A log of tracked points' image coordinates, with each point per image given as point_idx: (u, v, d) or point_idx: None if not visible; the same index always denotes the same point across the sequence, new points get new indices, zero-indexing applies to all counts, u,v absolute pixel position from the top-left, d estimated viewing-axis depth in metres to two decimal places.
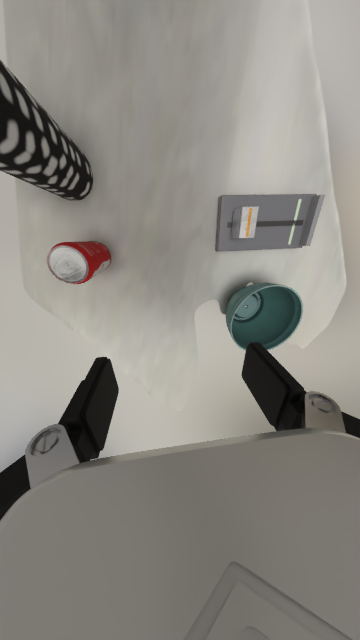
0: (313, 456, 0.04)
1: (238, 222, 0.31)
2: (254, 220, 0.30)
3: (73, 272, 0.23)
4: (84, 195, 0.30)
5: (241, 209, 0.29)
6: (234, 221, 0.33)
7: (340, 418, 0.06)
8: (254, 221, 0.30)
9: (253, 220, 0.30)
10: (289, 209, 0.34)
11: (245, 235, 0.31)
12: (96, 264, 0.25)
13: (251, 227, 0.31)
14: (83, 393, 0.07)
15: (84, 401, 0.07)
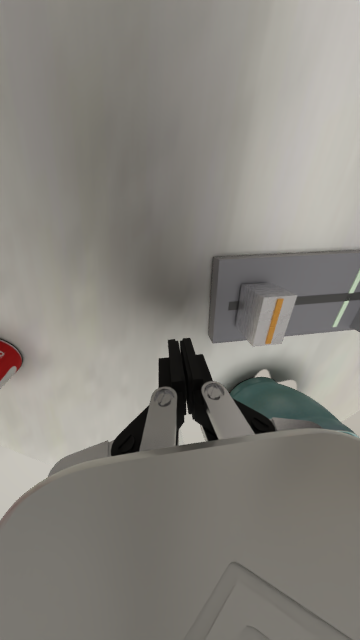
0: (313, 456, 0.04)
1: (251, 316, 0.16)
2: (286, 318, 0.15)
3: None
4: None
5: (259, 299, 0.14)
6: (242, 305, 0.17)
7: (229, 396, 0.07)
8: (285, 319, 0.15)
9: (283, 318, 0.15)
10: (344, 277, 0.18)
11: (265, 341, 0.16)
12: None
13: (277, 328, 0.15)
14: (175, 365, 0.09)
15: (180, 370, 0.09)
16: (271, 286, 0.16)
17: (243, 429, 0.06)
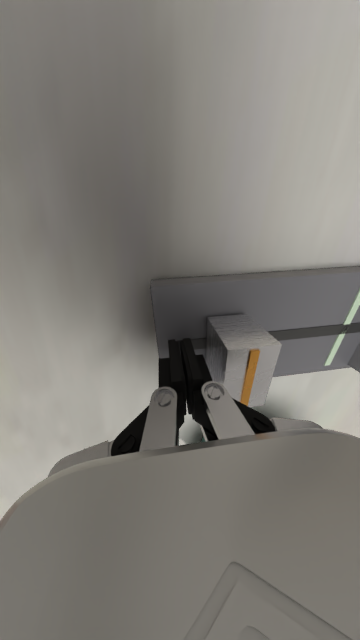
0: (313, 456, 0.04)
1: (217, 368, 0.11)
2: (267, 375, 0.10)
3: None
4: None
5: (224, 349, 0.09)
6: (209, 346, 0.12)
7: (229, 396, 0.07)
8: (266, 376, 0.10)
9: (262, 375, 0.10)
10: (336, 304, 0.13)
11: None
12: None
13: (255, 388, 0.10)
14: (175, 365, 0.09)
15: (180, 370, 0.09)
16: (247, 322, 0.11)
17: (243, 429, 0.06)
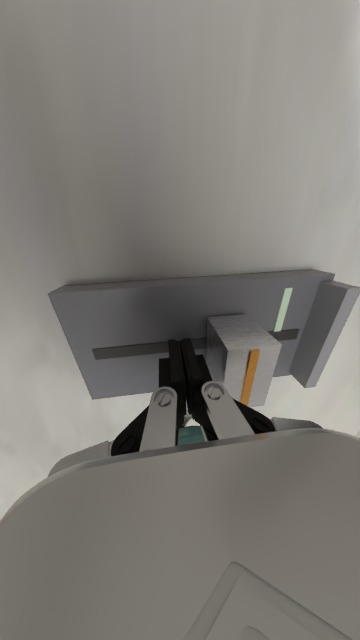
0: (313, 456, 0.04)
1: (217, 368, 0.11)
2: (267, 375, 0.10)
3: None
4: None
5: (224, 349, 0.09)
6: (209, 346, 0.12)
7: (229, 396, 0.07)
8: (266, 376, 0.10)
9: (262, 375, 0.10)
10: (260, 311, 0.13)
11: None
12: None
13: (255, 388, 0.10)
14: (175, 365, 0.09)
15: (180, 370, 0.09)
16: (247, 322, 0.11)
17: (243, 429, 0.06)
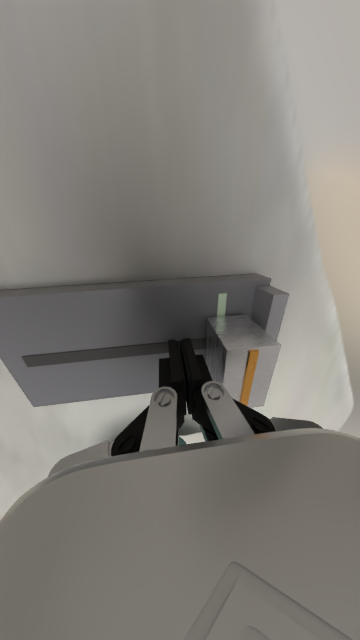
0: (313, 456, 0.04)
1: (216, 368, 0.11)
2: (266, 375, 0.10)
3: None
4: None
5: (223, 350, 0.09)
6: (209, 347, 0.12)
7: (229, 396, 0.07)
8: (265, 377, 0.10)
9: (262, 376, 0.10)
10: (197, 316, 0.12)
11: None
12: None
13: (255, 388, 0.10)
14: (175, 365, 0.09)
15: (180, 370, 0.09)
16: (246, 322, 0.11)
17: (243, 429, 0.06)
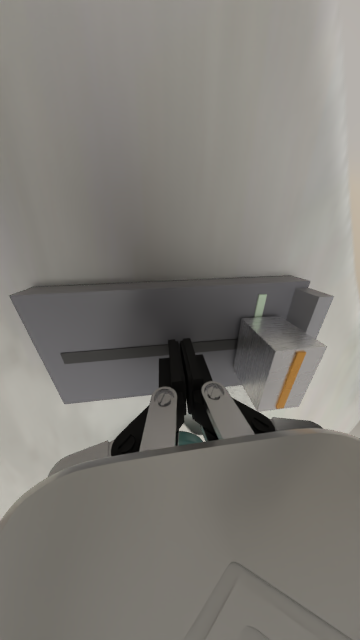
0: (313, 456, 0.04)
1: (255, 368, 0.11)
2: (308, 376, 0.10)
3: None
4: None
5: (269, 350, 0.09)
6: (243, 347, 0.12)
7: (229, 396, 0.07)
8: (306, 378, 0.10)
9: (303, 376, 0.10)
10: (235, 317, 0.12)
11: (276, 404, 0.11)
12: None
13: (294, 389, 0.10)
14: (175, 365, 0.09)
15: (180, 370, 0.09)
16: (283, 324, 0.11)
17: (243, 429, 0.06)
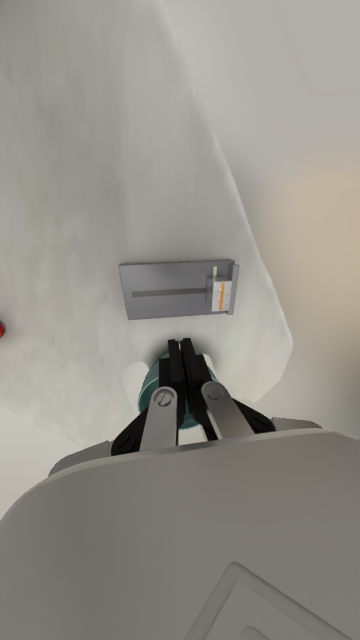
0: (313, 456, 0.04)
1: (210, 294, 0.28)
2: (228, 294, 0.27)
3: None
4: None
5: (212, 283, 0.26)
6: (207, 289, 0.29)
7: (229, 396, 0.07)
8: (228, 295, 0.27)
9: (226, 294, 0.27)
10: (204, 276, 0.29)
11: (219, 308, 0.27)
12: None
13: (224, 300, 0.27)
14: (175, 365, 0.09)
15: (180, 370, 0.09)
16: (222, 277, 0.28)
17: (243, 429, 0.06)
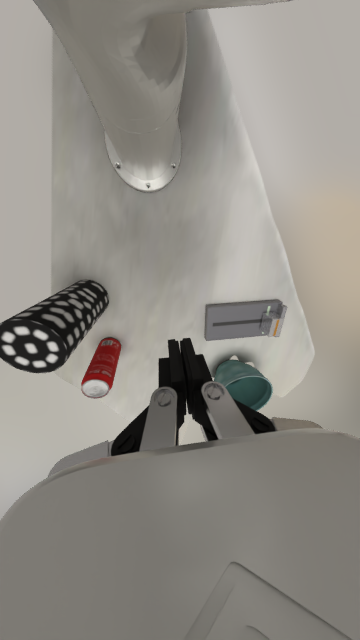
0: (313, 456, 0.04)
1: (267, 325, 0.42)
2: (280, 326, 0.41)
3: (98, 392, 0.32)
4: None
5: (271, 319, 0.40)
6: (263, 321, 0.43)
7: (229, 396, 0.07)
8: (280, 326, 0.41)
9: (279, 326, 0.41)
10: (261, 312, 0.43)
11: (273, 334, 0.42)
12: (113, 377, 0.35)
13: (277, 330, 0.41)
14: (175, 365, 0.09)
15: (180, 370, 0.09)
16: (275, 314, 0.42)
17: (243, 429, 0.06)
